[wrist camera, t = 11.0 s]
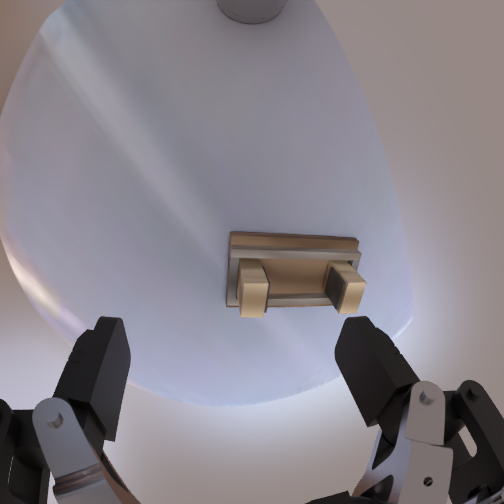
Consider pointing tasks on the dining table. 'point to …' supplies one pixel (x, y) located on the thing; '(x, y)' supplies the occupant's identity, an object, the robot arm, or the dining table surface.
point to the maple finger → (343, 286)
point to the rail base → (282, 269)
